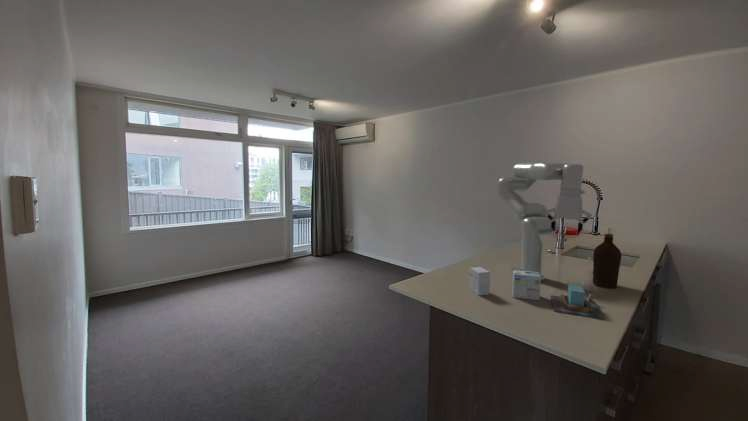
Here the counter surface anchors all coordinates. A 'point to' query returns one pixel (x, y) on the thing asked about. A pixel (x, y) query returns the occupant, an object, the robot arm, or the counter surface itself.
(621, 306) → the counter surface
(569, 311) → the board
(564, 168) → the robot arm
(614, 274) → the olive oil
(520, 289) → the light bulb box
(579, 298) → the teal block
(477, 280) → the small box
